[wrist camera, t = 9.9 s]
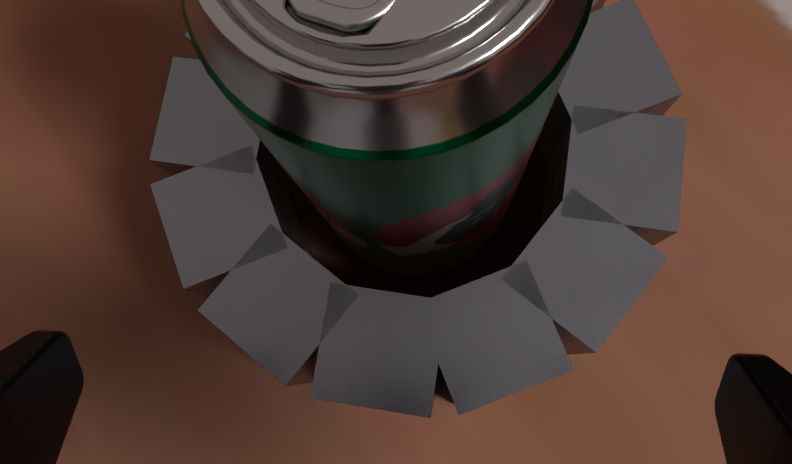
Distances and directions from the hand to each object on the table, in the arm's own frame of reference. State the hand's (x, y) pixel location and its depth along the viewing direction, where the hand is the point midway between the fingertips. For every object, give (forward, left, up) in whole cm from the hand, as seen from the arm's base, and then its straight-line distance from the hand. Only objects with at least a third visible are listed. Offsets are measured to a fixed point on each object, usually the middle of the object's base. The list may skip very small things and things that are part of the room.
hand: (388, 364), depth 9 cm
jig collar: (+5, +1, -9) cm, 10 cm away
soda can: (+5, +1, -9) cm, 10 cm away
